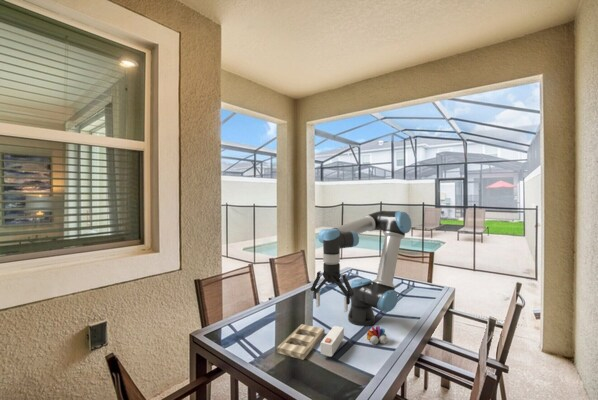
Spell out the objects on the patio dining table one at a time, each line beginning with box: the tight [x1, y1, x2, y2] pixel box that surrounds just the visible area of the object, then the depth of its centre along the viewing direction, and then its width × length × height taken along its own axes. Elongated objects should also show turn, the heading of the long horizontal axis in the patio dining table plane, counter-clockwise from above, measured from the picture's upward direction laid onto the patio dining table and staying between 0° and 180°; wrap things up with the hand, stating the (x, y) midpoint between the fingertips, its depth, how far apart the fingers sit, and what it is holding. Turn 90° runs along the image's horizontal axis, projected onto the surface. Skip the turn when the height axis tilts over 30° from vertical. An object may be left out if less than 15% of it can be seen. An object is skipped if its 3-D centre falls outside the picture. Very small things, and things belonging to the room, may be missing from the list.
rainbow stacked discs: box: [366, 325, 388, 345], centre depth 136 cm, size 8×10×7 cm
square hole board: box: [276, 323, 326, 360], centre depth 135 cm, size 13×26×2 cm, turn 154°
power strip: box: [320, 325, 345, 358], centre depth 128 cm, size 5×18×8 cm, turn 154°
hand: (331, 308), depth 128 cm, fingers open, 13 cm apart
